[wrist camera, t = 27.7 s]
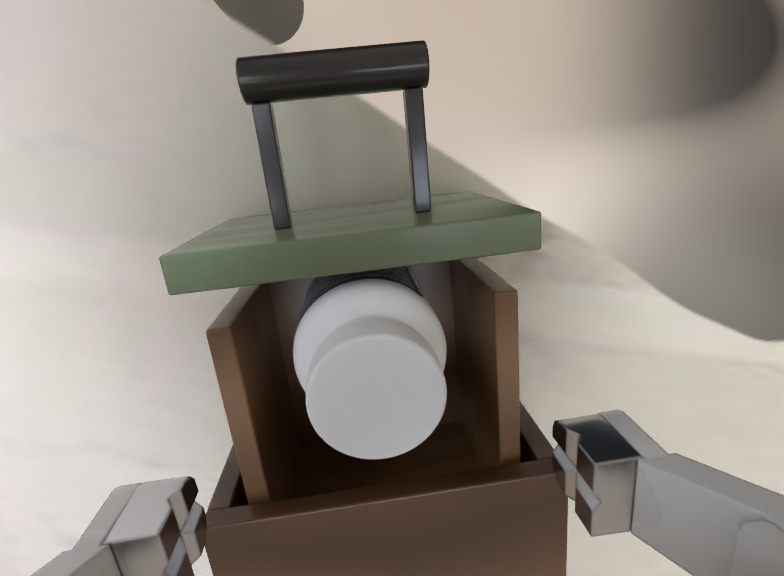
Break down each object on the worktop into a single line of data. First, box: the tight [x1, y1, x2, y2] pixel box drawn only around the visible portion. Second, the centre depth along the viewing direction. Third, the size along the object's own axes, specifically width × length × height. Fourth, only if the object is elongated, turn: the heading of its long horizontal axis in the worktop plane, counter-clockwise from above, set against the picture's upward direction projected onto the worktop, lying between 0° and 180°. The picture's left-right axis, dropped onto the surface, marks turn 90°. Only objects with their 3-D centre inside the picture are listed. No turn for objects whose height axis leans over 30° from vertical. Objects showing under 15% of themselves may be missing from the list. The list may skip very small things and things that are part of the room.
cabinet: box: [205, 400, 568, 576], centre depth 21 cm, size 14×13×10 cm
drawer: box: [159, 41, 541, 505], centre depth 18 cm, size 18×11×8 cm, turn 6°
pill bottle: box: [293, 266, 447, 459], centre depth 16 cm, size 5×5×9 cm
